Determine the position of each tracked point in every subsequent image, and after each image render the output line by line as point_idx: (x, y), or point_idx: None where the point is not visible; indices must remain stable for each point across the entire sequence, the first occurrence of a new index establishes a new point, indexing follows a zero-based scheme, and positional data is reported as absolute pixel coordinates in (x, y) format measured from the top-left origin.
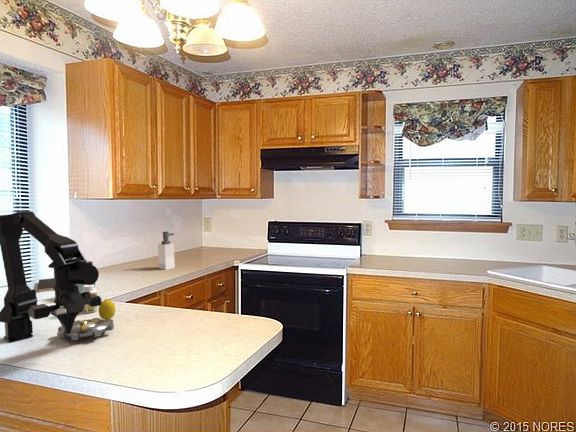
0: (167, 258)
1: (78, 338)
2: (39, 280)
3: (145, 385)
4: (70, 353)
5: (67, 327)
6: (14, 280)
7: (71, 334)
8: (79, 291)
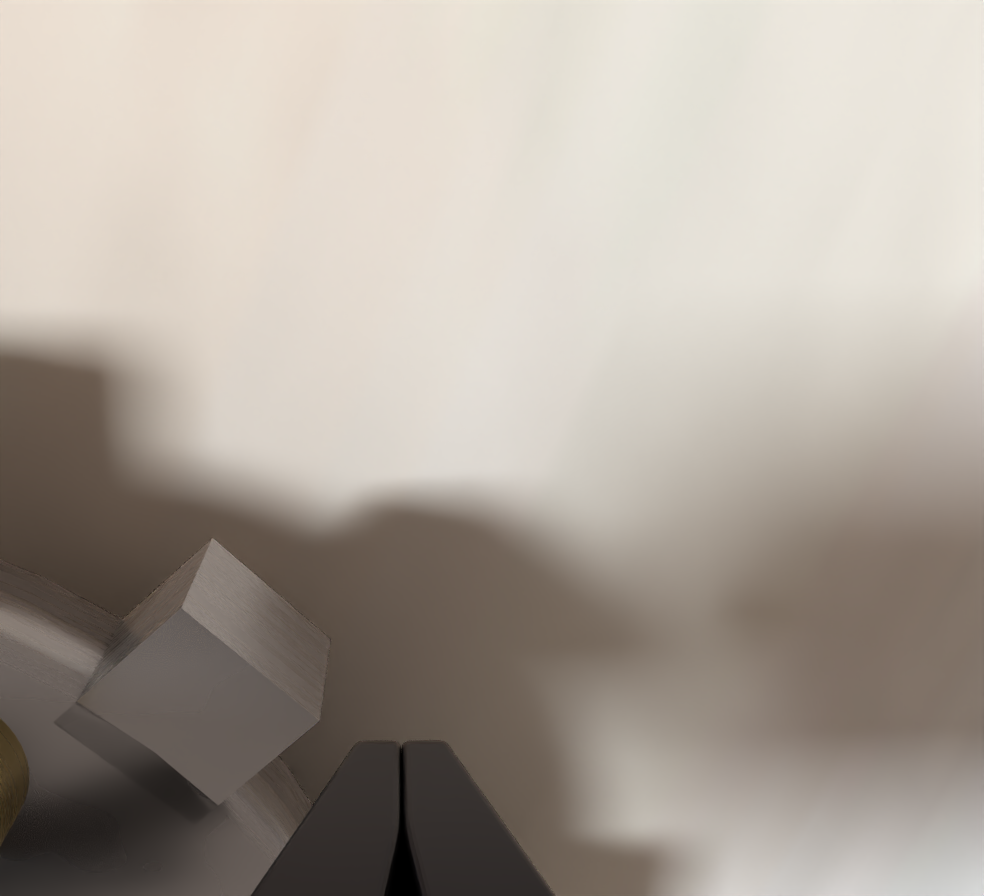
0: None
1: (171, 579)
2: None
3: None
4: (602, 51)
5: (466, 890)
6: None
7: (261, 827)
8: None
